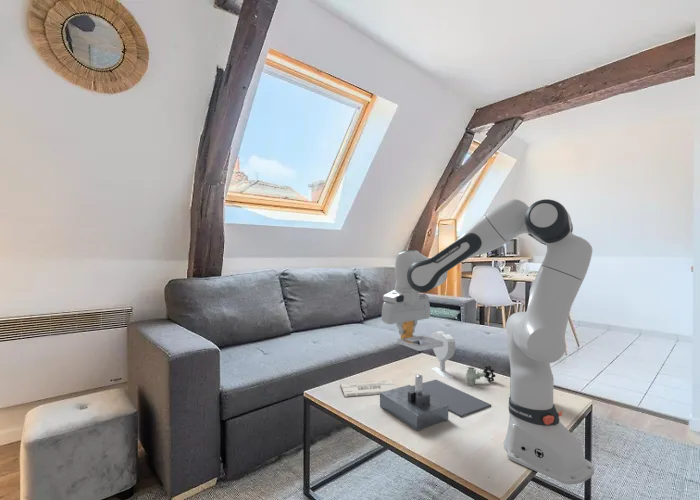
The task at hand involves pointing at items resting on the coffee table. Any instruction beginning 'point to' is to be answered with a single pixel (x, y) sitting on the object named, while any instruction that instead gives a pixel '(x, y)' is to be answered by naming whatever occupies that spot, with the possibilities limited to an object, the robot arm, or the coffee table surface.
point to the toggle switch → (414, 405)
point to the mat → (454, 398)
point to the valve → (478, 375)
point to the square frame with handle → (417, 339)
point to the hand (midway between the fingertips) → (406, 333)
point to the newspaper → (366, 388)
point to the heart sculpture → (443, 352)
